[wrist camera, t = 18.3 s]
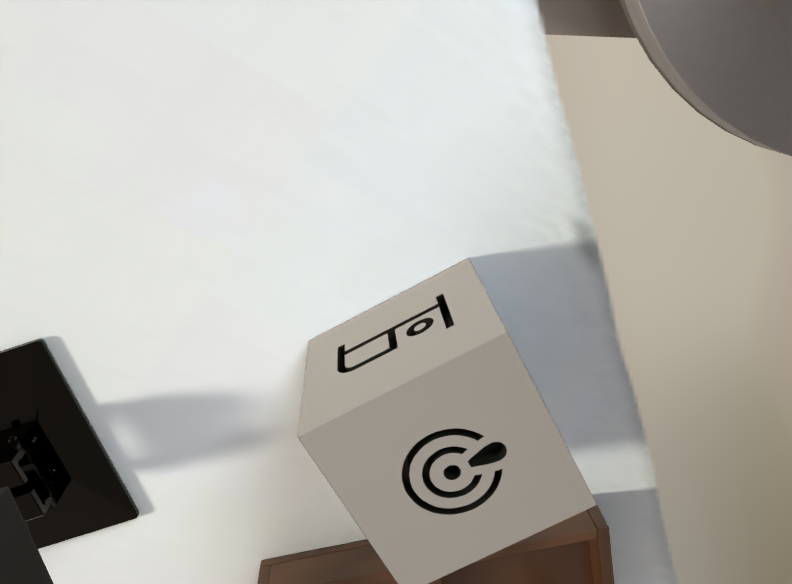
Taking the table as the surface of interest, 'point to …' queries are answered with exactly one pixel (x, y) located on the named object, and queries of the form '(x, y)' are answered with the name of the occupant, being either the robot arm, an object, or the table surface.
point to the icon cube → (435, 430)
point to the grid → (482, 580)
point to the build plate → (54, 452)
